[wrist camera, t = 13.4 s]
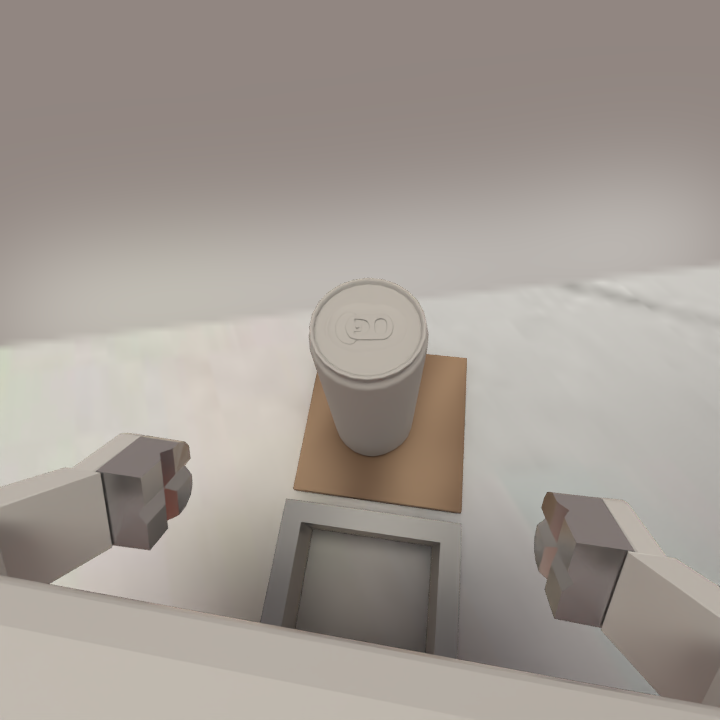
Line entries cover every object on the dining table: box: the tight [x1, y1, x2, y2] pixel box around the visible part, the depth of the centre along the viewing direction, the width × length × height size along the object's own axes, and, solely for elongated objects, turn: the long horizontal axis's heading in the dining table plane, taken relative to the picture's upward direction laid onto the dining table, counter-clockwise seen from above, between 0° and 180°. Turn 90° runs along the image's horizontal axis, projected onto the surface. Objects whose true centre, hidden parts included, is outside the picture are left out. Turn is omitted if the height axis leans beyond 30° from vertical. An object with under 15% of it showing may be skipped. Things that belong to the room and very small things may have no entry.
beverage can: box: [309, 278, 428, 456], centre depth 22 cm, size 5×5×12 cm
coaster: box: [293, 354, 467, 513], centre depth 27 cm, size 10×10×1 cm
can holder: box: [260, 499, 462, 659], centre depth 21 cm, size 9×9×4 cm
